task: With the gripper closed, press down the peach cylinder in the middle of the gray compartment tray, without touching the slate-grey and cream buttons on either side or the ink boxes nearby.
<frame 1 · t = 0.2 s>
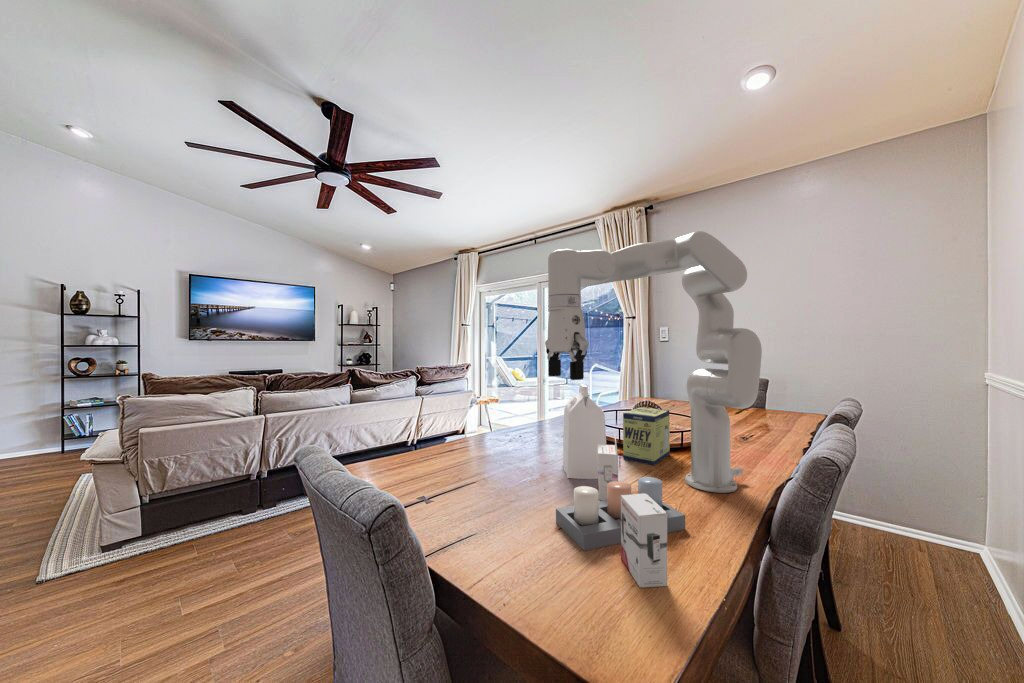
hand: (565, 377, 87), 31 cm above the table, fingers open, 9 cm apart
ink box: (642, 572, 64), on the table
ink cartridge box: (607, 495, 97), on the table
milk: (584, 472, 114), on the table
protein box: (647, 457, 127), on the table
button cream: (586, 505, 77), point 6 cm above the table, slide at 0.0 cm
button slate: (650, 494, 83), point 6 cm above the table, slide at 0.0 cm
gray compartment tray: (619, 525, 80), on the table
peach cylinder: (619, 499, 80), point 5 cm above the table, slide at 0.0 cm
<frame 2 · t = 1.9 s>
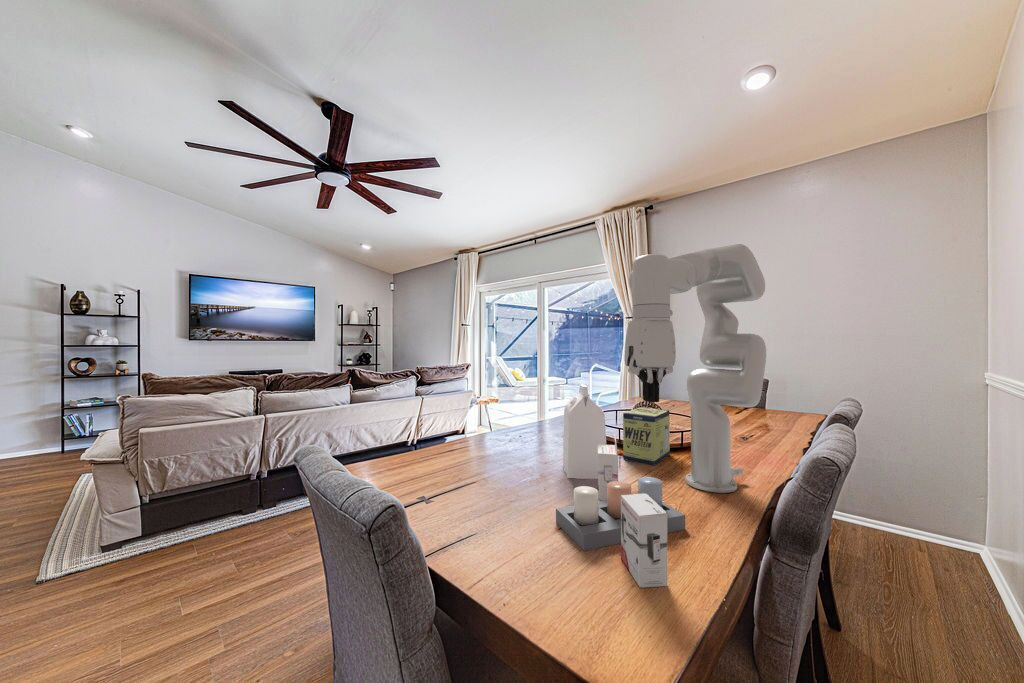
hand: (650, 401, 79), 27 cm above the table, fingers closed
nothing on the table moved.
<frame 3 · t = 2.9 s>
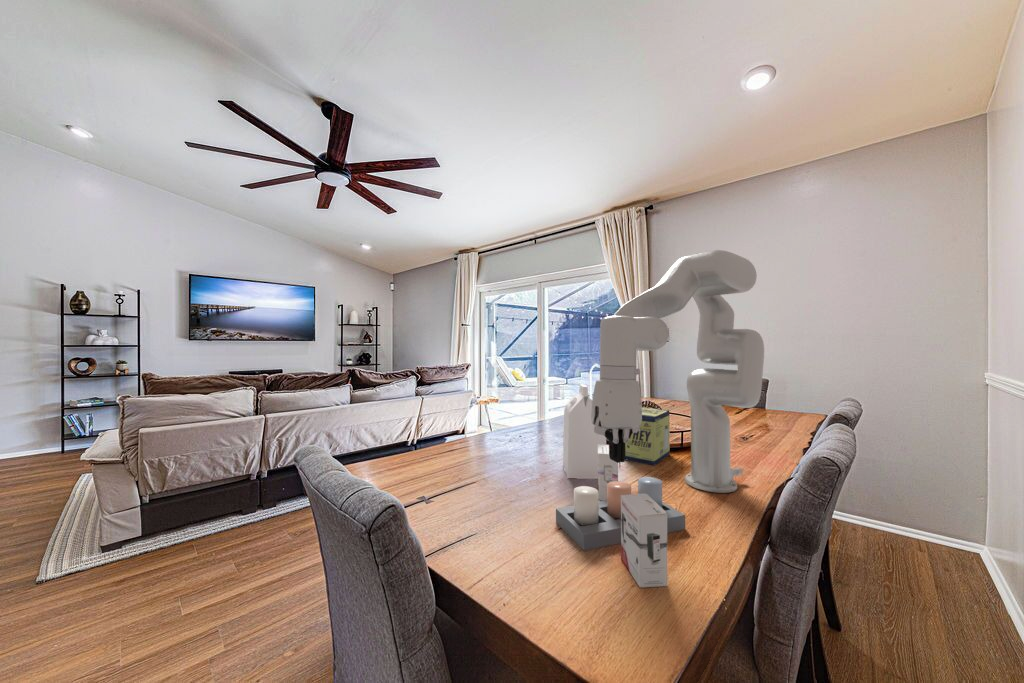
hand: (617, 460, 80), 14 cm above the table, fingers closed
nothing on the table moved.
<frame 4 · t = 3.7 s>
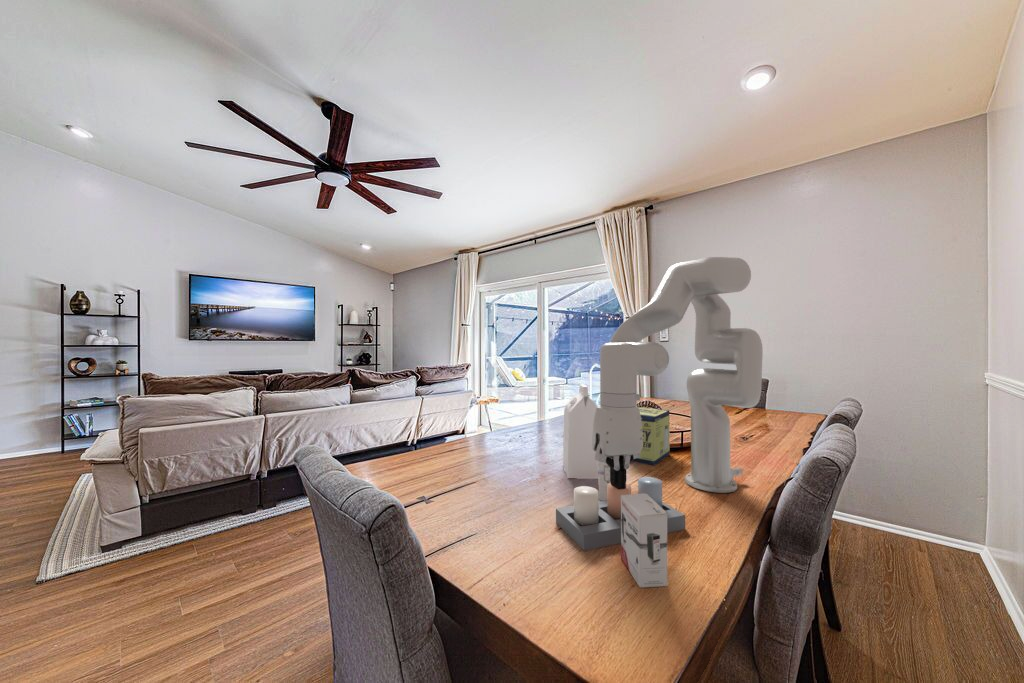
hand: (618, 486, 80), 8 cm above the table, fingers closed
peach cylinder: (619, 500, 80), point 5 cm above the table, slide at 0.2 cm, touching gripper
everything else where it was.
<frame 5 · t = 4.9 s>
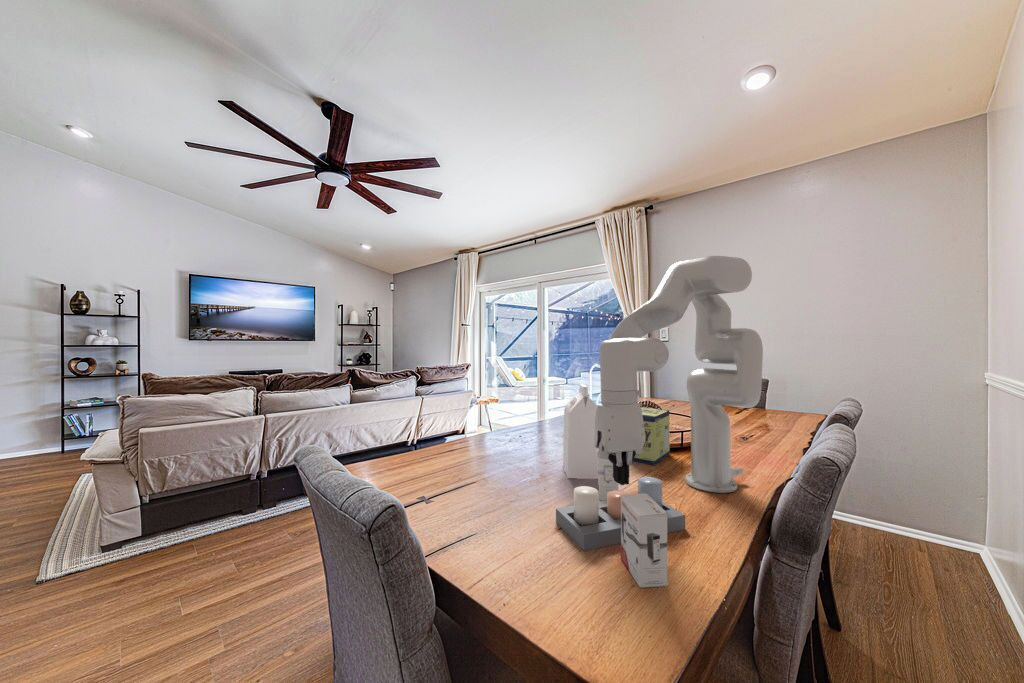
hand: (621, 482, 81), 9 cm above the table, fingers closed
peach cylinder: (619, 509, 80), point 3 cm above the table, slide at 2.0 cm
everything else where it was.
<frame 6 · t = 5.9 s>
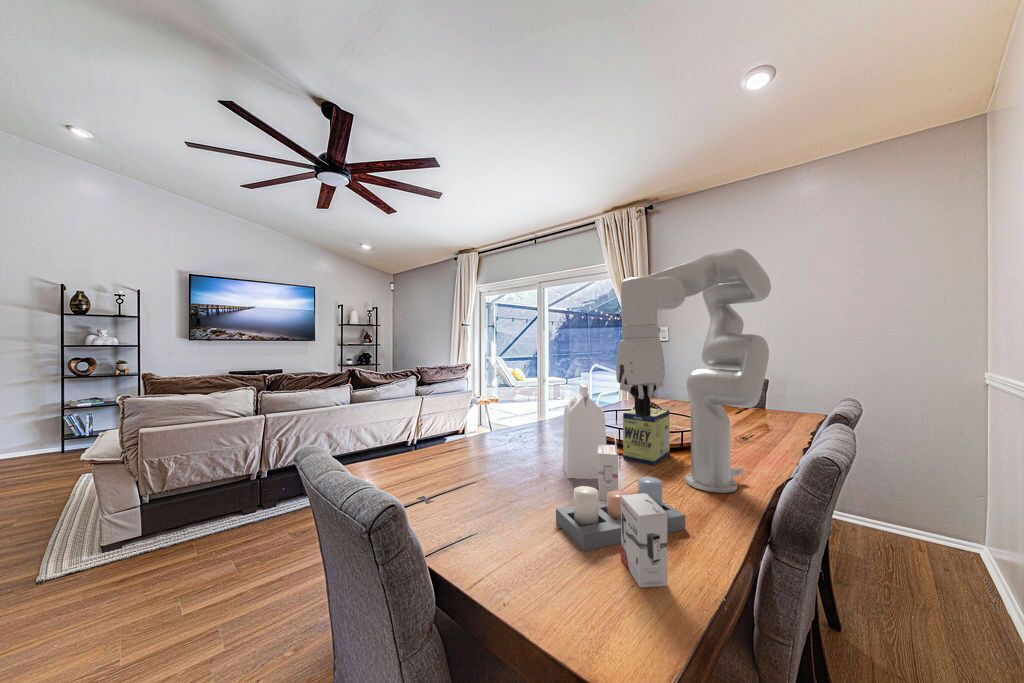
hand: (642, 415, 84), 23 cm above the table, fingers closed
nothing on the table moved.
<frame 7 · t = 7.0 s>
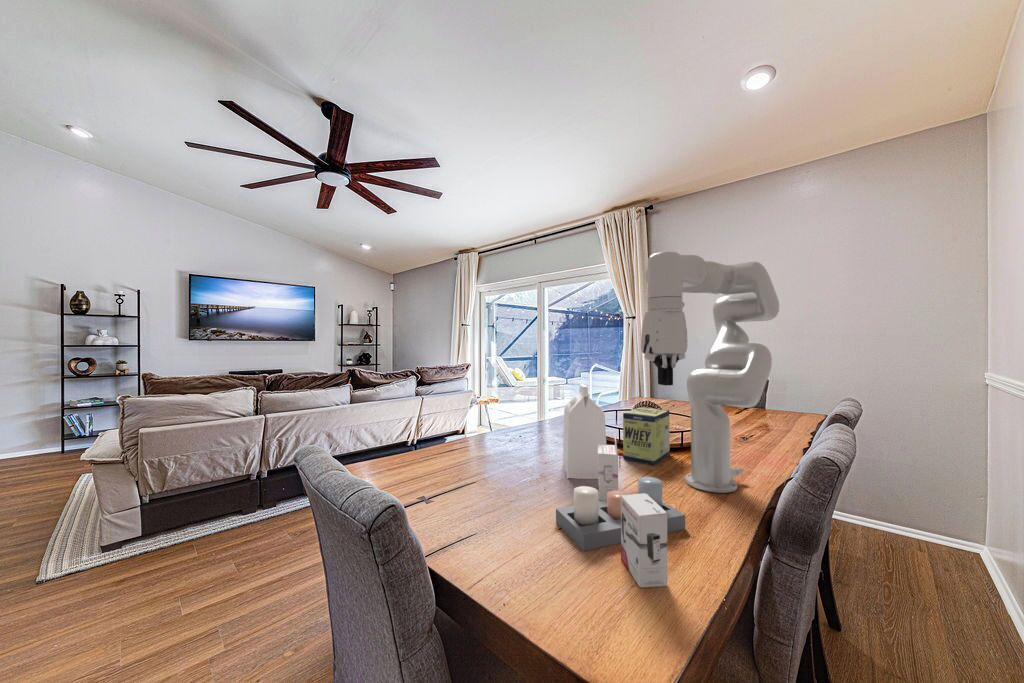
hand: (665, 384, 88), 29 cm above the table, fingers closed
nothing on the table moved.
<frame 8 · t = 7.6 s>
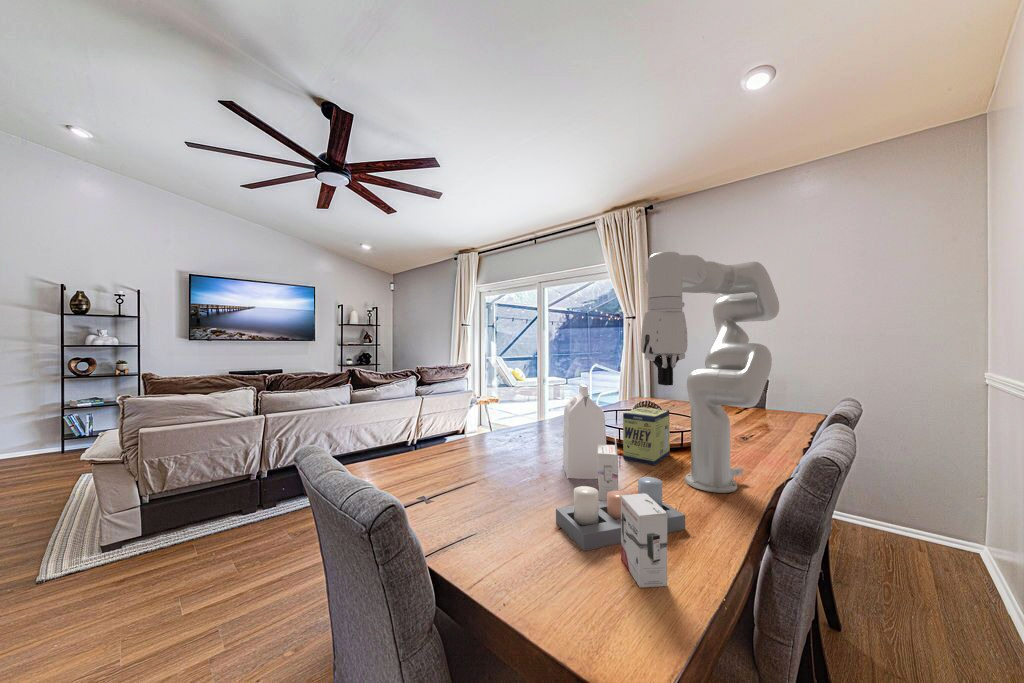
hand: (665, 384, 88), 29 cm above the table, fingers closed
nothing on the table moved.
at the end: peach cylinder slide at 2.0 cm; button slate slide at 0.0 cm; button cream slide at 0.0 cm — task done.
